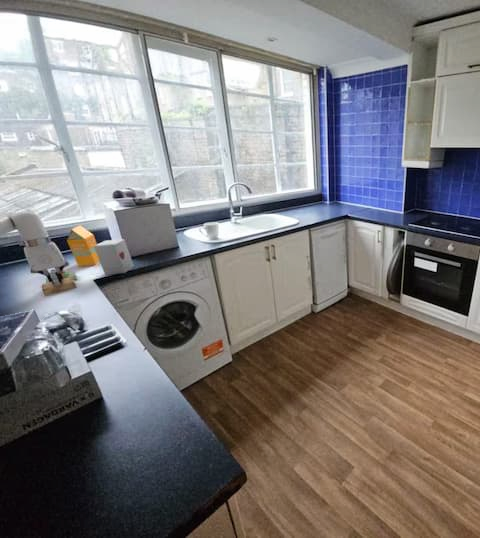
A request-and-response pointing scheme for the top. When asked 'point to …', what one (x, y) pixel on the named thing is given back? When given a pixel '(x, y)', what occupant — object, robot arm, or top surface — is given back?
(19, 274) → the top surface
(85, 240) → the orange juice
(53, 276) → the grey tan flat block
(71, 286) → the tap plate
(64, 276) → the button box
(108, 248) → the white product box
